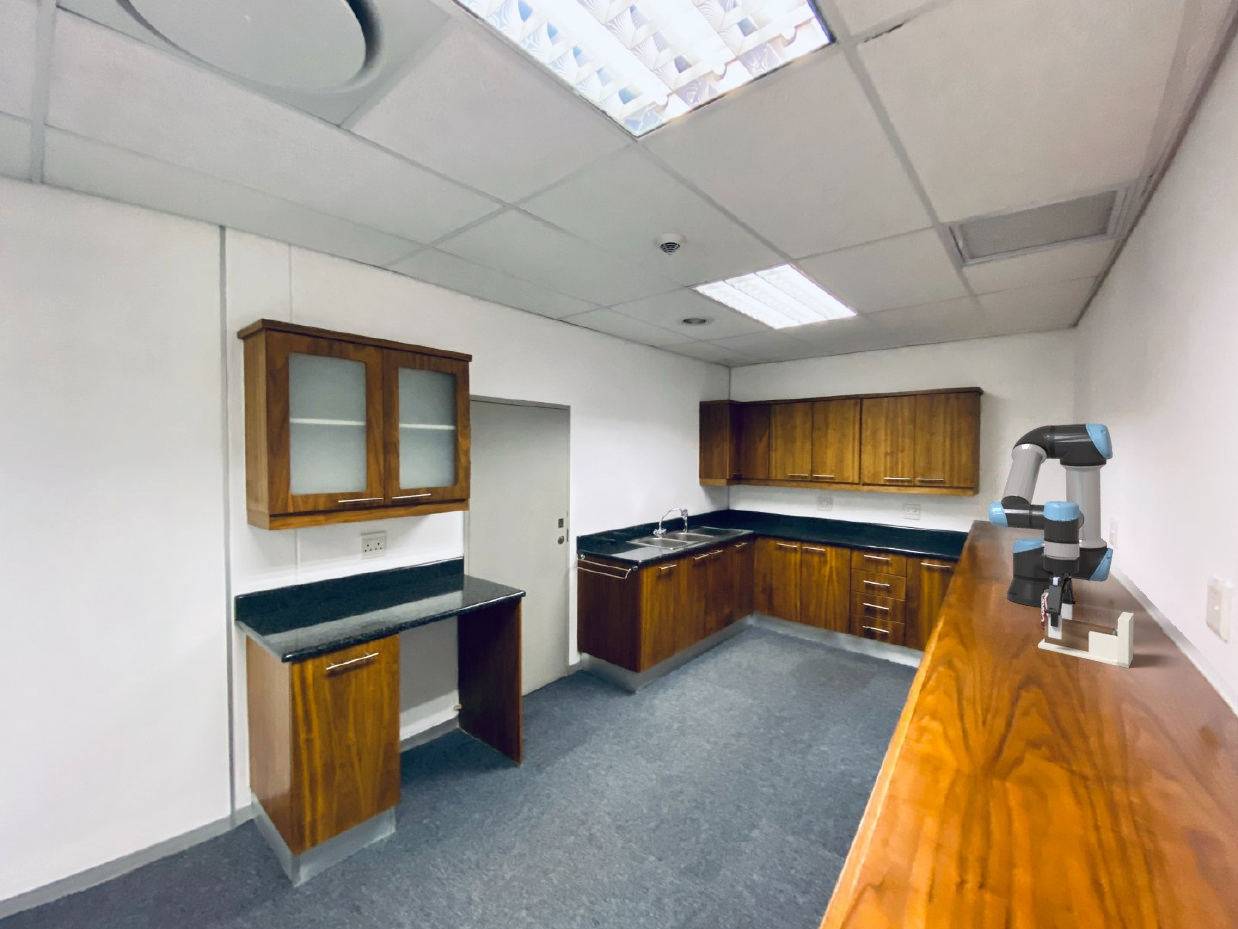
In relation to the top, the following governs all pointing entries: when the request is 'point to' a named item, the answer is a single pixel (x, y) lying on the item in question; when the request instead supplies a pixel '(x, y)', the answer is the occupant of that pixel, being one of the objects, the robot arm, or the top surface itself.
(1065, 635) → the brown rectangular block
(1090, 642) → the white slotted holder
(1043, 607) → the soda can
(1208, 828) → the top surface
